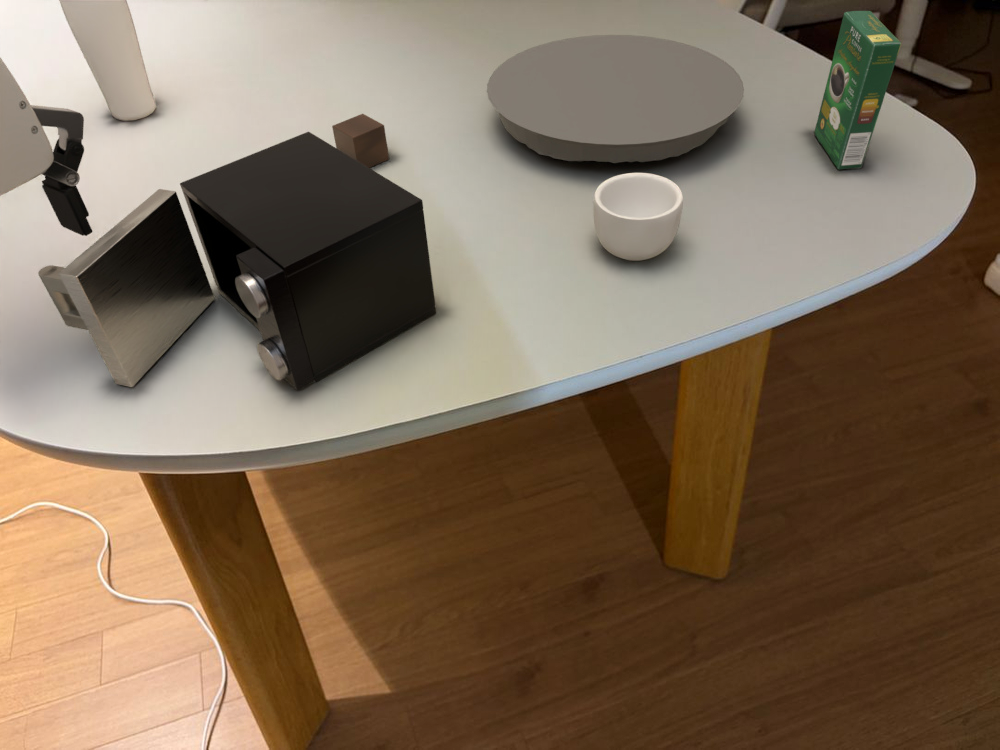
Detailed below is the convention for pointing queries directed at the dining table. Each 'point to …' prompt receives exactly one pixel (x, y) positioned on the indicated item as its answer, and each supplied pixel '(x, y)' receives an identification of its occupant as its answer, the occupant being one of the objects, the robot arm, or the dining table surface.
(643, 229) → the teacup
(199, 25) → the dining table surface
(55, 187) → the robot arm
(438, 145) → the dining table surface
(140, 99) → the white tapered cylinder
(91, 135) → the dining table surface
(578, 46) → the flat disc
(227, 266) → the microwave
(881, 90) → the coffee box
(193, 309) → the microwave door
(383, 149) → the block
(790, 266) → the dining table surface
